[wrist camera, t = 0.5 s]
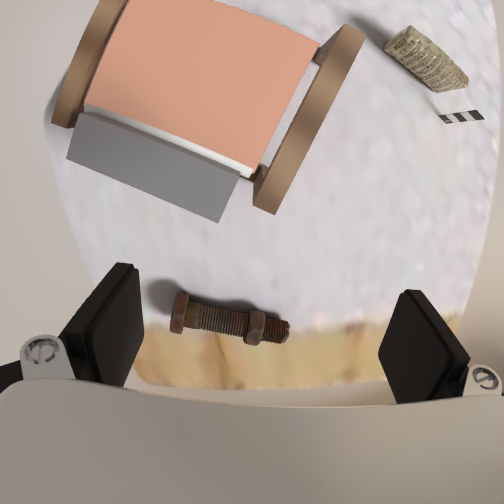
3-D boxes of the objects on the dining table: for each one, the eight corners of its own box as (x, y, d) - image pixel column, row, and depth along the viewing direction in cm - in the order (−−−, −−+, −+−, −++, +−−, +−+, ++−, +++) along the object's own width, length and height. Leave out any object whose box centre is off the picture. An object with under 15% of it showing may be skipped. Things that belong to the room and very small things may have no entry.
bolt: (282, 320, 46) (178, 299, 44) (294, 305, 42) (178, 282, 40) (279, 358, 42) (169, 338, 40) (292, 347, 38) (168, 324, 36)
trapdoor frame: (159, -11, 26) (127, -46, 16) (336, 56, 30) (366, 35, 20) (100, 117, 32) (50, 122, 23) (269, 187, 36) (274, 215, 26)
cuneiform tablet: (446, 123, 32) (372, 63, 30) (456, 97, 31) (385, 38, 29) (483, 119, 25) (403, 44, 23) (492, 90, 24) (415, 17, 22)
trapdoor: (150, -7, 21) (132, -26, 16) (313, 50, 23) (324, 38, 19) (84, 147, 27) (57, 155, 22) (234, 209, 29) (229, 228, 25)
